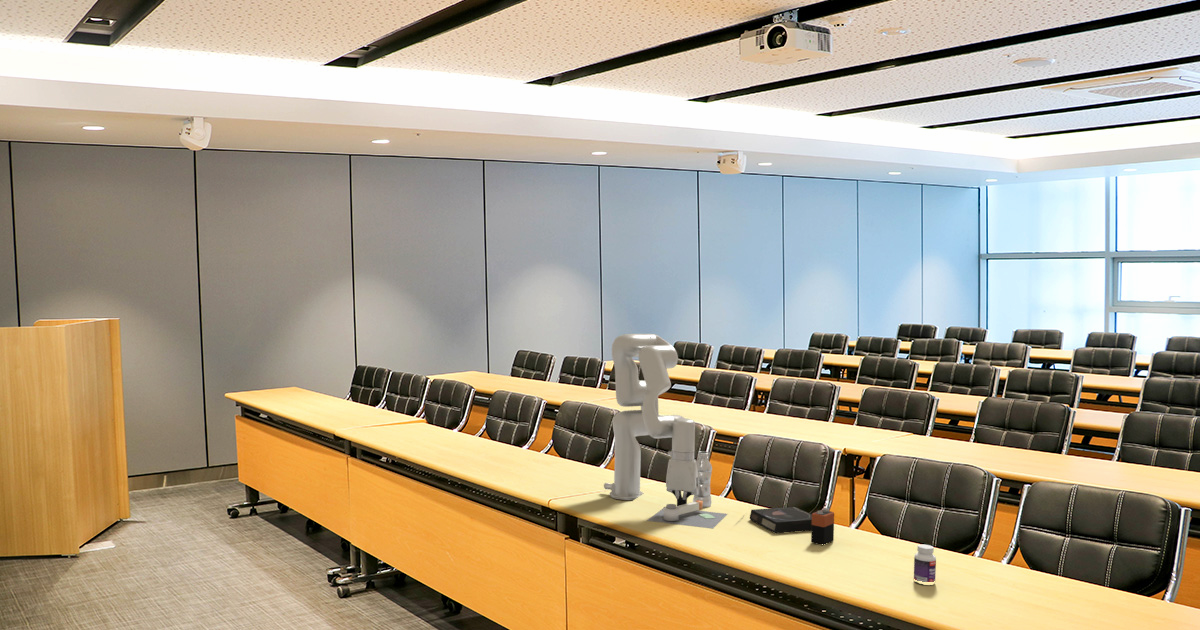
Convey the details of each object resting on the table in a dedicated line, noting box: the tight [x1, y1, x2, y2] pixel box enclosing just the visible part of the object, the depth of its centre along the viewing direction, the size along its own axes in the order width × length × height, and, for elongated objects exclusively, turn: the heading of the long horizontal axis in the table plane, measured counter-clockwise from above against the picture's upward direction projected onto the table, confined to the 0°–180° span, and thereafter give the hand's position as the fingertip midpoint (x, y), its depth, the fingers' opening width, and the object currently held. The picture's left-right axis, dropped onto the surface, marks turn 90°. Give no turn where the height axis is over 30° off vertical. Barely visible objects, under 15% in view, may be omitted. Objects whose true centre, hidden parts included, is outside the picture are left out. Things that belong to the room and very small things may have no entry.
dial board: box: [646, 508, 728, 529], centre depth 291 cm, size 22×20×2 cm
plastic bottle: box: [692, 450, 713, 508], centre depth 307 cm, size 6×7×20 cm
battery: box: [810, 507, 835, 546], centre depth 270 cm, size 4×7×10 cm, turn 138°
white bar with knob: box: [662, 500, 704, 521], centre depth 291 cm, size 5×18×5 cm, turn 136°
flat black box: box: [749, 506, 813, 534], centre depth 289 cm, size 16×17×4 cm
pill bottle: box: [913, 543, 937, 582], centre depth 234 cm, size 5×5×10 cm
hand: (681, 510), depth 295 cm, fingers closed
